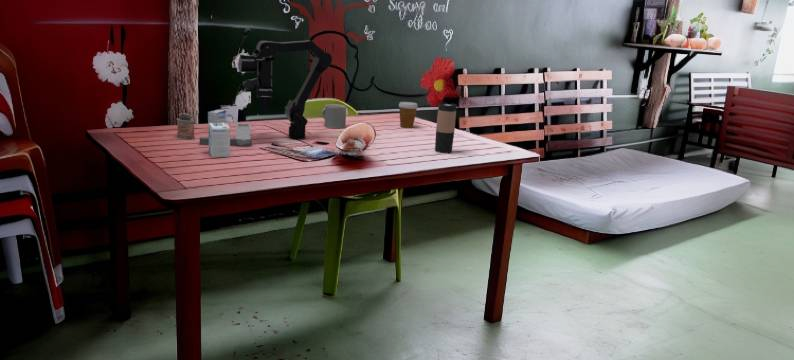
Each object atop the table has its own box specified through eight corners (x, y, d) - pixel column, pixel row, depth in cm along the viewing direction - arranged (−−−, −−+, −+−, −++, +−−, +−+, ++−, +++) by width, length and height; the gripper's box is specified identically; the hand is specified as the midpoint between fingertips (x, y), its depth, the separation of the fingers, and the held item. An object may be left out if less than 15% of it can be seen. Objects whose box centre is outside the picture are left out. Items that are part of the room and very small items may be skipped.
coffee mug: (349, 128, 288) (350, 107, 285) (331, 129, 281) (332, 108, 279) (333, 122, 297) (334, 102, 295) (316, 124, 291) (317, 103, 288)
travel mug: (440, 153, 249) (444, 105, 244) (430, 149, 256) (435, 102, 250) (455, 153, 253) (460, 105, 247) (446, 148, 259) (450, 102, 254)
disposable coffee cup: (404, 124, 306) (406, 101, 303) (419, 127, 301) (421, 103, 298) (393, 126, 299) (394, 102, 295) (408, 129, 294) (410, 105, 290)
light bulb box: (208, 150, 227) (207, 122, 224) (226, 150, 230) (226, 122, 227) (211, 157, 218) (211, 128, 215) (230, 157, 221) (230, 128, 218)
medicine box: (217, 132, 257) (217, 112, 255) (208, 131, 258) (207, 111, 256) (226, 129, 265) (226, 110, 263) (217, 128, 266) (216, 109, 263)
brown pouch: (175, 137, 244) (174, 112, 241) (180, 135, 247) (180, 111, 244) (191, 140, 241) (190, 115, 239) (196, 138, 244) (196, 114, 242)
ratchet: (251, 143, 243) (251, 128, 242) (251, 147, 237) (251, 132, 236) (200, 142, 239) (200, 127, 238) (199, 145, 233) (198, 130, 232)
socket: (250, 136, 242) (250, 124, 241) (250, 139, 237) (250, 126, 236) (236, 136, 241) (236, 123, 240) (235, 139, 236) (235, 126, 234)
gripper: (245, 68, 252) (245, 105, 256) (243, 74, 235) (243, 113, 239) (272, 70, 254) (271, 107, 259) (272, 75, 237) (272, 114, 241)
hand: (264, 110), depth 249 cm, fingers open, 9 cm apart
